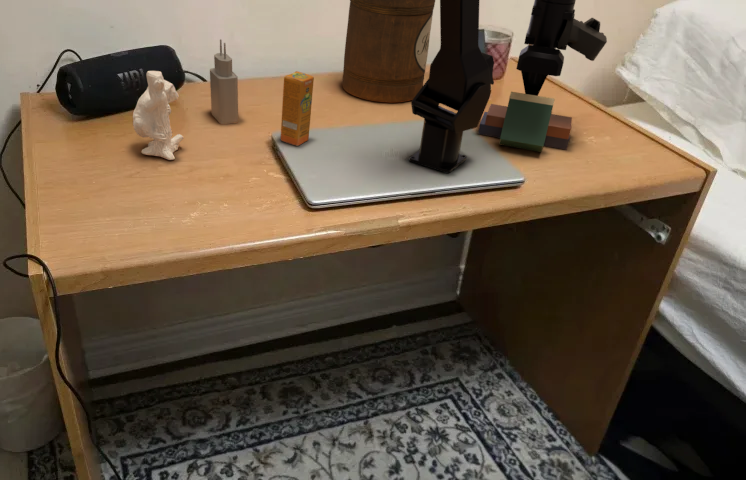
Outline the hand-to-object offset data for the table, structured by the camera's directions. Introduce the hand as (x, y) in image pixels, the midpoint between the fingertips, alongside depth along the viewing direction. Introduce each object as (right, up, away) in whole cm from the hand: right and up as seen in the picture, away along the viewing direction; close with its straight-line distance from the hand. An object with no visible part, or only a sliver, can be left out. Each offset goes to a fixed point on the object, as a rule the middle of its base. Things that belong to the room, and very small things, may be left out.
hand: (530, 103), depth 105 cm
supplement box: (-37, -7, -5) cm, 38 cm away
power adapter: (-49, -2, +1) cm, 49 cm away
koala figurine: (-56, -10, -12) cm, 58 cm away
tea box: (-2, -8, -2) cm, 8 cm away
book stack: (0, -5, +2) cm, 5 cm away
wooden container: (-22, +7, +17) cm, 29 cm away
